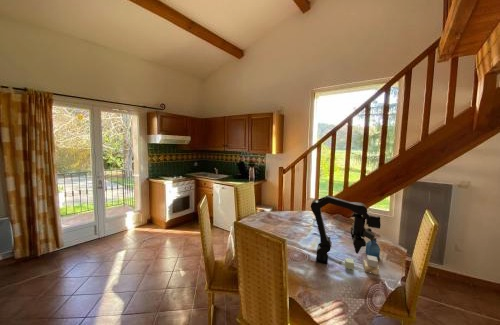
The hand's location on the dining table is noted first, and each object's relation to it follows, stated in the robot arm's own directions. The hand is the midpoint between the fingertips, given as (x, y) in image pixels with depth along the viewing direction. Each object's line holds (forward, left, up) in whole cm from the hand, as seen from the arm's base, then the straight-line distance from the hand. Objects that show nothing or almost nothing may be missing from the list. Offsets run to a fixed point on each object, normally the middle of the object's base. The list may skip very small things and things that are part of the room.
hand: (355, 249), depth 127 cm
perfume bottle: (+13, +21, -12) cm, 27 cm away
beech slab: (+9, +2, -12) cm, 15 cm away
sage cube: (-3, 0, -12) cm, 13 cm away
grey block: (+9, +2, -8) cm, 13 cm away
